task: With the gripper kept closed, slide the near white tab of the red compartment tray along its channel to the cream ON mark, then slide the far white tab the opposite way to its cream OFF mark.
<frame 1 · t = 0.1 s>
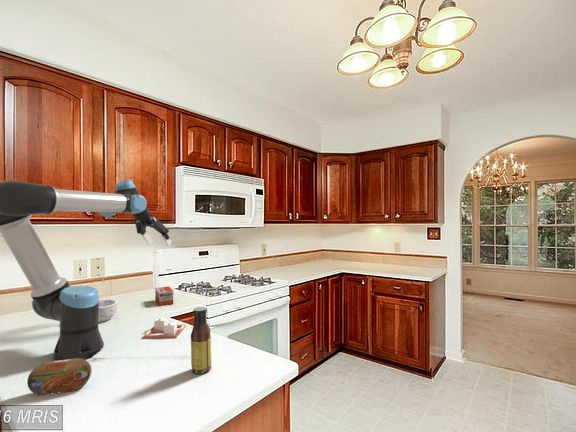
hand: (160, 243, 163), 36 cm above the countertop, tool tilted 35°, fingers open, 13 cm apart
sauce bottle: (201, 371, 101), on the countertop
paper bowls: (99, 320, 152), on the countertop
medicine box: (164, 303, 184), on the countertop
tin: (60, 391, 89), on the countertop
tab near: (170, 328, 128), point 4 cm above the countertop, slide at -3.0 cm
red compartment tray: (165, 335, 131), on the countertop
tab far: (160, 323, 134), point 4 cm above the countertop, slide at 3.0 cm
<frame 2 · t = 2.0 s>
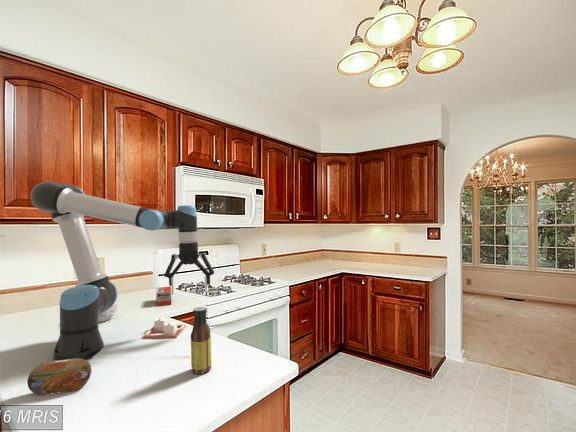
hand: (190, 292, 132), 18 cm above the countertop, tool pointing down, fingers open, 13 cm apart
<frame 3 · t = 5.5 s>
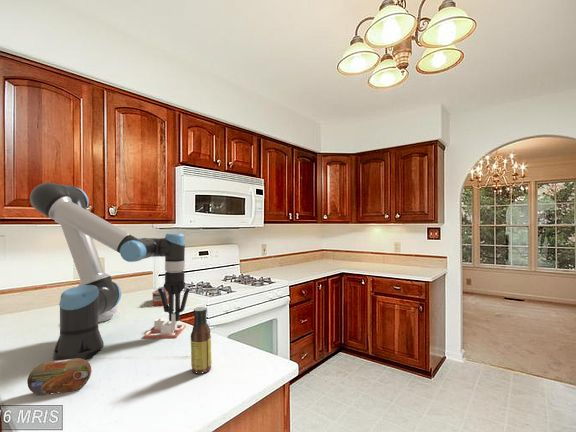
hand: (174, 328, 128), 4 cm above the countertop, tool pointing down, fingers closed
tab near: (167, 328, 128), point 4 cm above the countertop, slide at -1.8 cm, touching gripper
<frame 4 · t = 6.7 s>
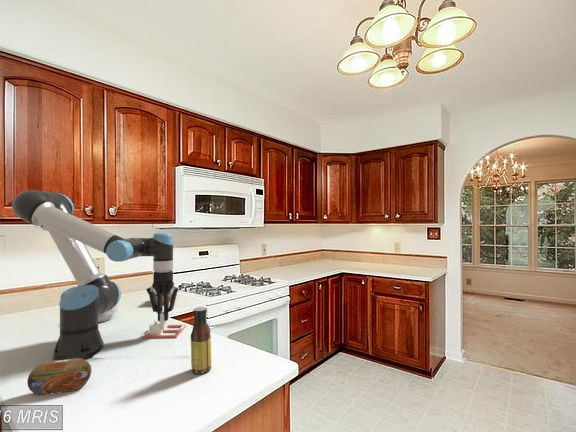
hand: (163, 328, 128), 4 cm above the countertop, tool pointing down, fingers closed
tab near: (156, 328, 128), point 4 cm above the countertop, slide at 2.7 cm, touching gripper
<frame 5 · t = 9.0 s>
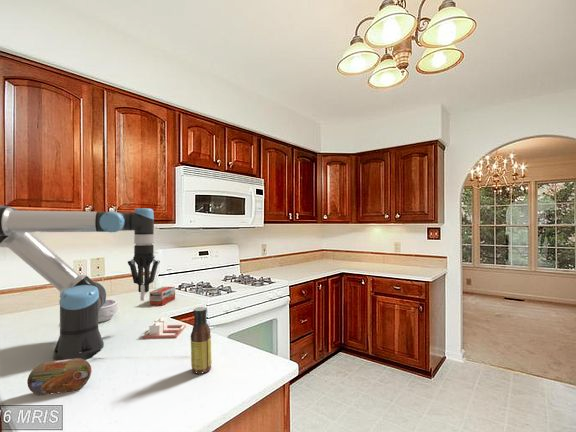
hand: (143, 299, 134), 14 cm above the countertop, tool pointing down, fingers closed
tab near: (156, 328, 128), point 4 cm above the countertop, slide at 2.7 cm
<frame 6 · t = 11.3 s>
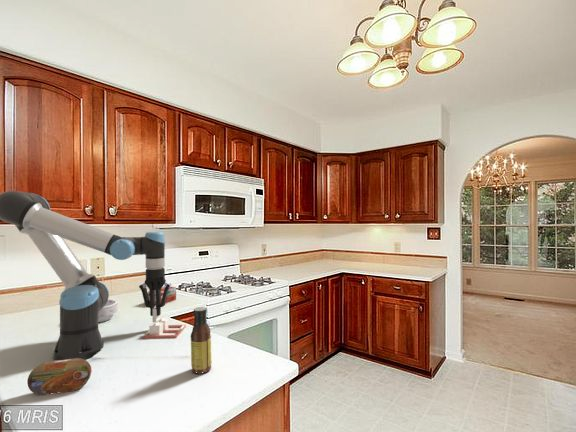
hand: (155, 323, 134), 4 cm above the countertop, tool pointing down, fingers closed
tab far: (161, 323, 134), point 4 cm above the countertop, slide at 2.5 cm, touching gripper
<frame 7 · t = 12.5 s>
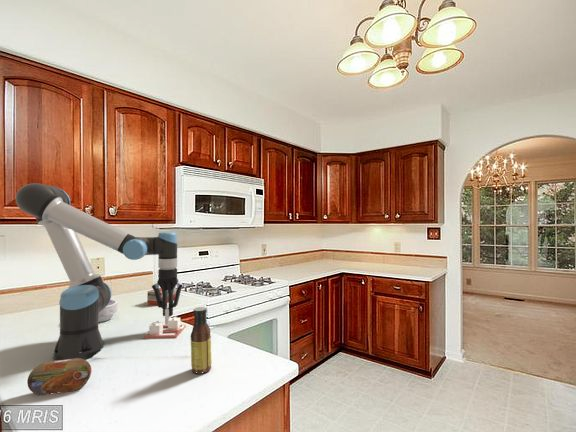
hand: (167, 323, 134), 4 cm above the countertop, tool pointing down, fingers closed
tab far: (174, 323, 134), point 4 cm above the countertop, slide at -2.7 cm, touching gripper
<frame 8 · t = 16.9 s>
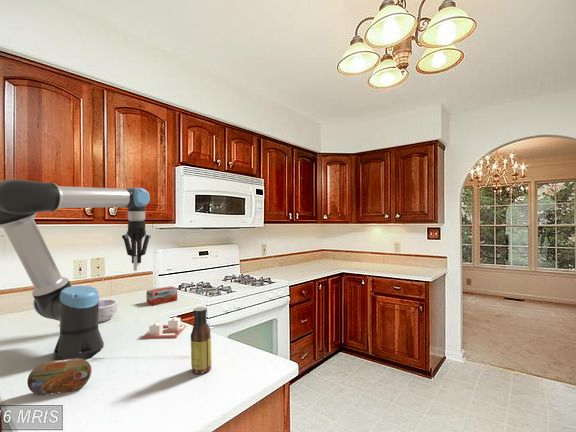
hand: (136, 270, 149), 24 cm above the countertop, tool pointing down, fingers closed
tab far: (174, 323, 134), point 4 cm above the countertop, slide at -2.7 cm
at the end: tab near slide at 2.7 cm; tab far slide at -2.7 cm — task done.
